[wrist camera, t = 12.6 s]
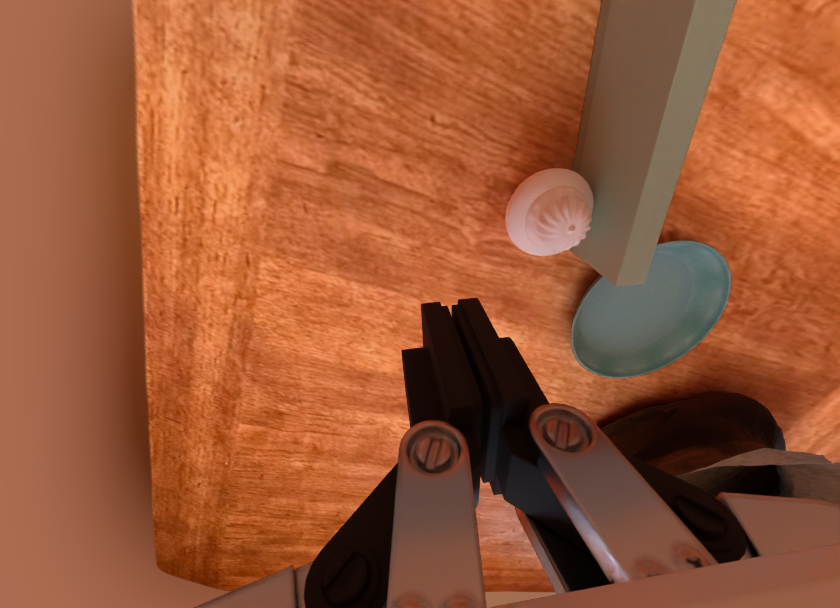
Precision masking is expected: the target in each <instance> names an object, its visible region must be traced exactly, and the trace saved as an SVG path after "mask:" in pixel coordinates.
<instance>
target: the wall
mask: <svg viewBox="0 0 840 608" xmlns="http://www.w3.org/2000/svg"><path fill="white" fill-rule="evenodd" d="M736 1H737V0H602V2H601V8H600V14H599V19H598V25H597V31H596V37H595V43H594V48H593V54H592V60H591V66H590V72H589V77H588V83H587V89H586V95H585V101H584V106H583V112H582V118H581V124H580V129H579V135H578V141H577V147H576V153H575V158H574V164H573V170H572V171H574V172H576V173H578V174H579V175H581V176H582V177H583V178H584V179H585V180H586V181H587V183H588V184H589V186H590V188H591V190H592V193H593V199H594V205H593V212H592V216H591V217H592V218H593V219H592V221H591V222H590V223H589V226H590V227H591V229H590V230H588V231H586V238H585V239H581V240H580V243H579V244H578V245H577V246H572V248H570V249H569V250H570V251H571V252H573V253H574V254H575V255H576V256H578V257H579V258H580V259H582V260H583V261H584V262H585V263H587V264H588V265H589V266H591V267H592V268H593V269H594V270H596V271H597V272H598V273H599V274H601V275H602V276H603V277H605V278H606V279H607V280H608V281H610V282H611V283H612V284H613V285H615V286H626V285H636V284H644V282H645V279H646V276H647V273H648V270H649V267H650V264H651V261H652V258H653V255H654V252H655V249H656V246H657V243H658V240H659V236H660V233H661V230H662V227H663V224H664V221H665V218H666V215H667V212H668V209H669V206H670V203H671V200H672V197H673V194H674V191H675V188H676V184H677V181H678V178H679V175H680V172H681V169H682V166H683V163H684V160H685V157H686V154H687V151H688V148H689V145H690V142H691V139H692V136H693V133H694V129H695V126H696V123H697V120H698V117H699V114H700V111H701V108H702V105H703V102H704V99H705V96H706V93H707V90H708V87H709V84H710V81H711V78H712V74H713V71H714V68H715V65H716V62H717V59H718V56H719V53H720V50H721V47H722V44H723V41H724V38H725V35H726V32H727V29H728V26H729V22H730V19H731V16H732V13H733V10H734V7H735V4H736Z"/></svg>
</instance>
